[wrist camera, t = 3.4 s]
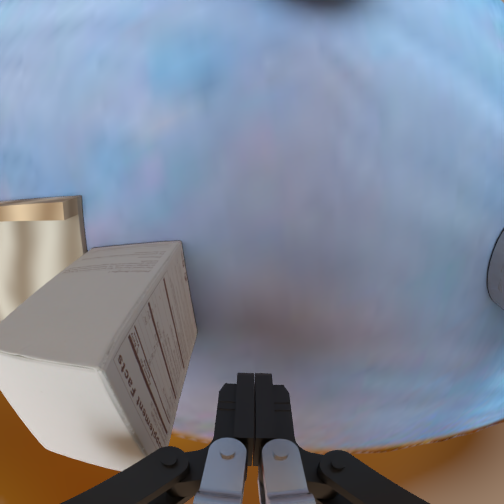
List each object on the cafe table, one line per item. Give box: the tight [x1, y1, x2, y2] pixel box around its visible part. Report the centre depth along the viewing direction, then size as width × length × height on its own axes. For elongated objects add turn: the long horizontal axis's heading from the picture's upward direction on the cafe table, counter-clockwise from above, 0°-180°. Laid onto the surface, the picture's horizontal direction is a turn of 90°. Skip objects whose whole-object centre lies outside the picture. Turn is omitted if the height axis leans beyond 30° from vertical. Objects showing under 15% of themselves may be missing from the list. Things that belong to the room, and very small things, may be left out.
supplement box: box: [0, 241, 197, 471], centre depth 14 cm, size 7×7×13 cm
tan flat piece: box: [0, 196, 87, 322], centre depth 19 cm, size 14×14×2 cm
